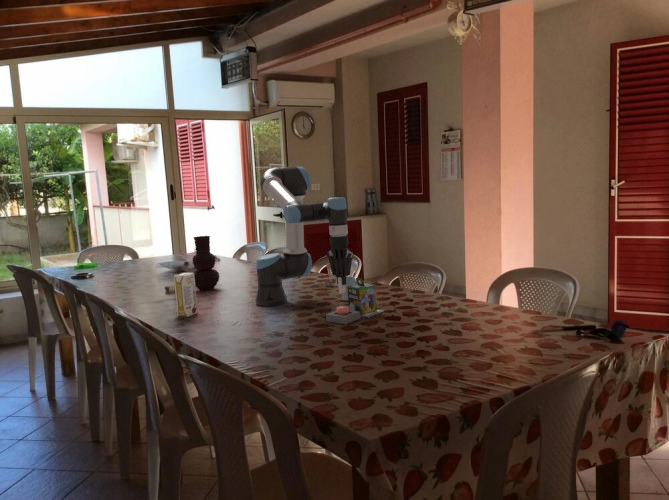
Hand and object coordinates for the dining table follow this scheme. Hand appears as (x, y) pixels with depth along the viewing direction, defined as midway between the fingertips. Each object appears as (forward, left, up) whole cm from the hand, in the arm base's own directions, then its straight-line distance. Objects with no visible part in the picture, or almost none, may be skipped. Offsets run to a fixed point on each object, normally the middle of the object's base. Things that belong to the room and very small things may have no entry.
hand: (342, 292), depth 235 cm
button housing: (0, 0, -12) cm, 12 cm away
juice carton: (-71, -25, -12) cm, 76 cm away
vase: (-110, +17, -12) cm, 112 cm away
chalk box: (0, +14, -11) cm, 18 cm away
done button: (0, 0, -9) cm, 9 cm away
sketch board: (0, +14, -12) cm, 18 cm away
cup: (-22, +32, -12) cm, 41 cm away
